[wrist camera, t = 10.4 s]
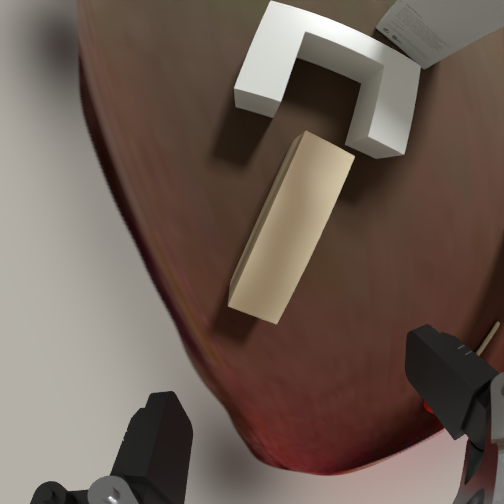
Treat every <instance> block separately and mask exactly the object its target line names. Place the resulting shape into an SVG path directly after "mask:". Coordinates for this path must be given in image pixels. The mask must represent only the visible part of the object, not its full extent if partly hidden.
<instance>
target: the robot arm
mask: <svg viewBox="0 0 504 504" xmlns="http://www.w3.org/2000/svg"><path fill="white" fill-rule="evenodd" d="M405 372H406V376H407V378H408V380H409V382H410V383H411V384H412V386H413V387H414V388H415V389H416V391H417V392H418V393H419V395H420V396H421V397H422V398H423V400H424V401H425V402H426V403H427V405H428V406H429V407H430V409H431V410H432V411H433V413H434V414H435V415H436V416H437V418H438V419H439V420H440V422H441V423H442V424H443V426H444V427H445V428H446V430H447V431H448V432H449V434H450V435H451V436H452V438H453V439H454V440H456V439H458V438H460V437H461V436H463V435H464V434H466V435H467V436H468V441H467V445H466V453H465V460H464V467H463V472H462V477H461V482H460V487H459V490H458V493H457V496H456V498H455V500H454V502H453V504H504V372H503V373H501V374H500V373H498V372H497V371H496V370H495V369H494V368H493V367H491V366H490V365H489V364H488V363H487V362H486V361H484V360H483V359H482V358H481V357H480V356H478V355H477V354H476V353H475V352H474V351H473V352H472V350H471V349H470V348H469V347H467V346H465V345H464V343H463V342H461V341H460V340H459V339H458V338H456V337H455V336H452V335H449V334H447V333H444V332H442V333H439V332H438V331H436V330H435V329H434V328H433V327H432V326H430V325H428V324H426V325H424V326H421V327H419V328H417V329H414V330H412V331H410V332H408V334H407V340H406V358H405ZM192 440H193V429H192V425H191V422H190V420H189V418H188V416H187V414H186V412H185V411H184V409H183V407H182V405H181V403H180V402H179V400H178V398H177V396H176V394H175V393H174V392H173V391H168V392H159V393H151V394H150V396H149V398H148V401H147V404H146V406H145V408H140V409H139V410H138V411H137V412H136V413H135V415H134V416H133V417H132V418H131V420H130V423H129V425H128V428H127V432H126V433H125V436H124V441H122V444H121V446H120V449H119V452H118V455H117V457H116V460H115V463H114V465H113V468H112V471H111V474H110V476H105V477H102V478H99V479H98V480H96V481H95V482H94V483H93V484H92V485H91V486H90V488H89V490H80V491H67V490H66V489H65V488H64V487H63V486H62V485H61V484H59V483H57V482H53V481H49V482H45V483H43V484H41V485H40V486H39V487H38V488H37V489H36V491H35V493H34V495H33V498H32V500H31V503H30V504H184V501H185V493H186V485H187V477H188V476H187V475H188V469H189V462H190V454H191V447H192Z"/></svg>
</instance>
